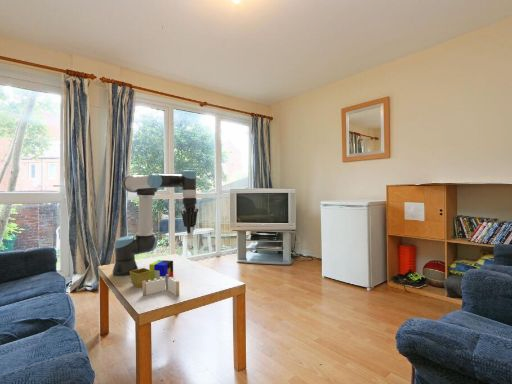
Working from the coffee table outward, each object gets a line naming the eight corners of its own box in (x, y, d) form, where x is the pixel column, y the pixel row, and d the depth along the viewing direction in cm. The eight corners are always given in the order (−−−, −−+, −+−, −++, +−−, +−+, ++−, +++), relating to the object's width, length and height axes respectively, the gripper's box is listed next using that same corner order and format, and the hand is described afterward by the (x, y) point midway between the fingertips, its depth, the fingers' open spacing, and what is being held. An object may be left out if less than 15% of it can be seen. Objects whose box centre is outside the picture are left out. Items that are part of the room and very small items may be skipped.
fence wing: (167, 290, 145) (167, 276, 145) (170, 289, 146) (170, 276, 146) (177, 296, 136) (176, 282, 136) (179, 295, 137) (179, 281, 137)
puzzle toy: (164, 282, 160) (164, 265, 160) (149, 281, 162) (149, 264, 162) (173, 276, 170) (173, 260, 170) (158, 275, 172) (158, 260, 172)
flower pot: (144, 282, 159) (144, 267, 159) (152, 286, 154) (151, 270, 154) (129, 287, 153) (129, 271, 152) (137, 290, 147) (136, 274, 147)
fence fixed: (168, 288, 148) (168, 274, 148) (170, 289, 147) (169, 274, 147) (142, 295, 139) (141, 280, 139) (143, 296, 138) (142, 280, 137)
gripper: (191, 196, 163) (192, 236, 163) (176, 197, 151) (177, 239, 151) (201, 197, 159) (202, 236, 160) (186, 197, 148) (187, 240, 148)
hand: (190, 238), depth 156 cm, fingers closed
